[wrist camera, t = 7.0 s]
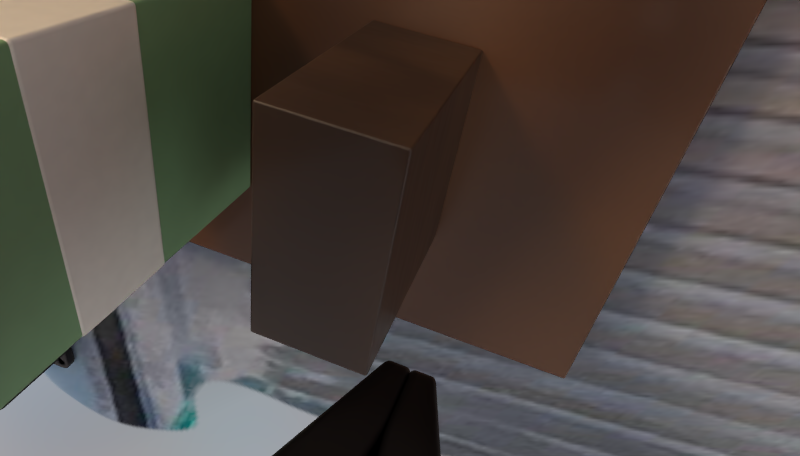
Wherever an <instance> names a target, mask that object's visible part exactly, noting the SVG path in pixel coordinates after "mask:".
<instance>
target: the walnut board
mask: <svg viewBox="0 0 800 456" xmlns="http://www.w3.org/2000/svg"><path fill="white" fill-rule="evenodd" d="M766 1H767V0H251V156H250V187H249V188H248V189H247V190H246V191H245V192H243V193H242V194H241V195H240V196H239V197H238V198H237V199H236V200H235V201H233V202H232V203H231V204H230V205H229V206H228V207H227V208H226V209H224V210H223V211H222V212H221V213H220V214H219V215H218V216H217V217H215V218H214V219H213V220H212V221H211V222H210V223H209V224H208V225H206V226H205V227H204V228H203V229H202V230H201V231H200V232H199V233H198V234H196V235H195V236H194V237H193V238H192V239H191V240H190V241H189V242H192V243H195V244H198V245H200V246H203V247H206V248H208V249H211V250H214V251H217V252H219V253H222V254H225V255H228V256H230V257H233V258H236V259H239V260H241V261H244V262H247V263H250V264H251V331H252V332H254V333H256V334H259V335H262V336H264V337H267V338H269V339H272V340H274V341H277V342H280V343H282V344H285V345H287V346H290V347H292V348H295V349H298V350H300V351H303V352H305V353H308V354H311V355H313V356H316V357H318V358H321V359H323V360H326V361H329V362H331V363H334V364H336V365H339V366H342V367H344V368H347V369H349V370H352V371H354V372H357V373H360V374H362V375H367V374H368V372H369V369H370V367H371V365H372V363H373V361H374V359H375V357H376V355H377V353H378V351H379V349H380V347H381V345H382V343H383V341H384V339H385V337H386V335H387V333H388V331H389V329H390V327H391V325H392V323H393V321H394V319H395V317H397V318H400V319H403V320H405V321H408V322H411V323H414V324H416V325H419V326H422V327H425V328H427V329H430V330H433V331H436V332H438V333H441V334H444V335H446V336H449V337H452V338H455V339H457V340H460V341H463V342H466V343H468V344H471V345H474V346H477V347H479V348H482V349H485V350H487V351H490V352H493V353H496V354H498V355H501V356H504V357H507V358H509V359H512V360H515V361H518V362H520V363H523V364H526V365H529V366H531V367H534V368H537V369H539V370H542V371H545V372H548V373H550V374H553V375H556V376H559V377H561V378H565V377H566V375H567V373H568V371H569V369H570V367H571V365H572V364H573V362H574V360H575V358H576V356H577V354H578V352H579V350H580V349H581V347H582V345H583V343H584V341H585V339H586V337H587V336H588V334H589V332H590V330H591V328H592V326H593V324H594V322H595V321H596V319H597V317H598V315H599V313H600V311H601V309H602V307H603V306H604V304H605V302H606V300H607V298H608V296H609V294H610V293H611V291H612V289H613V287H614V285H615V283H616V281H617V279H618V278H619V276H620V274H621V272H622V270H623V268H624V266H625V264H626V263H627V261H628V259H629V257H630V255H631V253H632V251H633V250H634V248H635V246H636V244H637V242H638V240H639V238H640V236H641V235H642V233H643V231H644V229H645V227H646V225H647V223H648V221H649V220H650V218H651V216H652V214H653V212H654V210H655V208H656V207H657V205H658V203H659V201H660V199H661V197H662V195H663V193H664V192H665V190H666V188H667V186H668V184H669V182H670V180H671V179H672V177H673V175H674V173H675V171H676V169H677V167H678V165H679V164H680V162H681V160H682V158H683V156H684V154H685V152H686V150H687V149H688V147H689V145H690V143H691V141H692V139H693V137H694V136H695V134H696V132H697V130H698V128H699V126H700V124H701V122H702V121H703V119H704V117H705V115H706V113H707V111H708V109H709V107H710V106H711V104H712V102H713V100H714V98H715V96H716V94H717V93H718V91H719V89H720V87H721V85H722V83H723V81H724V79H725V78H726V76H727V74H728V72H729V70H730V68H731V66H732V64H733V63H734V61H735V59H736V57H737V55H738V53H739V51H740V50H741V48H742V46H743V44H744V42H745V40H746V38H747V36H748V35H749V33H750V31H751V29H752V27H753V25H754V23H755V21H756V20H757V18H758V16H759V14H760V12H761V10H762V8H763V7H764V5H765V3H766Z"/></svg>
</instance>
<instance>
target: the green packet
mask: <svg viewBox="0 0 800 456" xmlns="http://www.w3.org/2000/svg"><path fill="white" fill-rule="evenodd" d="M250 156H251V0H0V409H1V408H3V407H4V406H5V405H6V404H7V403H8V402H9V401H10V400H11V399H13V398H14V397H15V396H16V395H17V394H18V393H19V392H20V391H22V390H23V389H24V388H25V387H26V386H27V385H28V384H29V383H31V382H32V381H33V380H34V379H35V378H36V377H37V376H38V375H39V374H41V373H42V372H43V371H44V370H45V369H46V368H47V367H48V366H50V365H51V364H52V363H53V362H54V361H55V360H56V359H57V358H59V357H60V356H61V355H62V354H63V353H64V352H65V351H66V350H68V349H69V348H70V347H71V346H72V345H73V344H74V343H75V342H76V341H78V340H79V339H80V338H81V337H83V336H85V335H87V334H88V333H89V332H90V331H91V330H92V329H93V328H94V327H96V326H97V325H98V324H99V323H100V322H101V321H102V320H103V319H104V318H106V317H107V316H108V315H109V314H110V313H111V312H112V311H113V310H115V309H116V308H117V307H118V306H119V305H120V304H121V303H122V302H123V301H125V300H126V299H127V298H128V297H129V296H130V295H131V294H132V293H133V292H135V291H136V290H137V289H138V288H139V287H140V286H141V285H142V284H144V283H145V282H146V281H147V280H148V279H149V278H150V277H151V276H152V275H154V274H155V273H156V272H157V271H158V270H159V269H160V268H161V267H163V265H164V263H165V262H166V261H167V260H168V259H170V258H171V257H172V256H173V255H174V254H175V253H176V252H177V251H178V250H180V249H181V248H182V247H183V246H184V245H185V244H186V243H187V242H189V241H190V240H191V239H192V238H193V237H194V236H195V235H196V234H198V233H199V232H200V231H201V230H202V229H203V228H204V227H205V226H206V225H208V224H209V223H210V222H211V221H212V220H213V219H214V218H215V217H217V216H218V215H219V214H220V213H221V212H222V211H223V210H224V209H226V208H227V207H228V206H229V205H230V204H231V203H232V202H233V201H235V200H236V199H237V198H238V197H239V196H240V195H241V194H242V193H243V192H245V191H246V190H247V189H248V188H249V187H250Z"/></svg>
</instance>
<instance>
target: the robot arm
mask: <svg viewBox="0 0 800 456" xmlns="http://www.w3.org/2000/svg"><path fill="white" fill-rule="evenodd" d="M73 362H74V356H73V352H72V349H71V347H70V348H69V349H68V350H66V351H65V352H64V353H63V354H62V355H61V356H60V357H59V358H57V359H56V360H55V361H54V362H53V363H52V364H51V365H53V364H56V365H58V366H61V367H63V368H68V367H69V366H70V365H71V364H72V363H73ZM51 365H50V366H51ZM50 366H48V367H47V368H46V369H45V370H44V371H43V372H42V373H44V372H45V371H46V370H47V369H48V368H49V367H50ZM42 373H41V374H42ZM41 374H39V375H38V376H37V377H36V378H35V379H34V380H33V381H35V380H36V379H37V378H38V377H39V376H40V375H41ZM33 381H32V382H33ZM32 382H31V383H32ZM31 383H29V384H28V385H27V386H26V387H25V388H24V389H23V390H25V389H26V388H27V387H28V386H29V385H30V384H31ZM23 390H22V391H23ZM22 391H20V392H19V393H18V394H17V395H16V396H15V397H14V398H16V397H17V396H18V395H19V394H20V393H21V392H22ZM14 398H13V399H14ZM13 399H11V400H10V401H9V402H8V403H7V404H6V405H5V406H7V405H8V404H9V403H10V402H11V401H12V400H13ZM5 406H4V407H5ZM4 407H3V408H4ZM3 408H1V409H3ZM1 409H0V410H1ZM272 456H441V455H440V440H439V424H438V409H437V393H436V381H435V379H434V378H433V377H432V376H429V375H426V374H424V373H421V372H418V371H415V370H414V371H411V372H410V370H409V368H407V367H405V366H403V365H400V364H397V363H395V362H392V361H386V362H384V363H383V364H382V365H380V366H379V367H378V368H377V369H376V370H374V371H373V372H372V373H371V374H370V375H368V376H367V377H366V378H365V379H364V380H362V381H361V382H360V383H359V384H358V385H356V386H355V387H354V388H353V389H352V390H350V391H349V392H348V393H347V394H346V395H344V396H343V397H342V398H341V399H340V400H338V401H337V402H336V403H335V404H334V405H332V406H331V407H330V408H329V409H328V410H326V411H325V412H324V413H323V414H322V415H320V416H319V417H318V418H317V419H316V420H314V421H313V422H312V423H311V424H310V425H308V426H307V427H306V428H305V429H304V430H302V431H301V432H300V433H299V434H298V435H296V436H295V437H294V438H293V439H292V440H290V441H289V442H288V443H287V444H286V445H284V446H283V447H282V448H281V449H280V450H278V451H277V452H276V453H275V454H274V455H272Z"/></svg>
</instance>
